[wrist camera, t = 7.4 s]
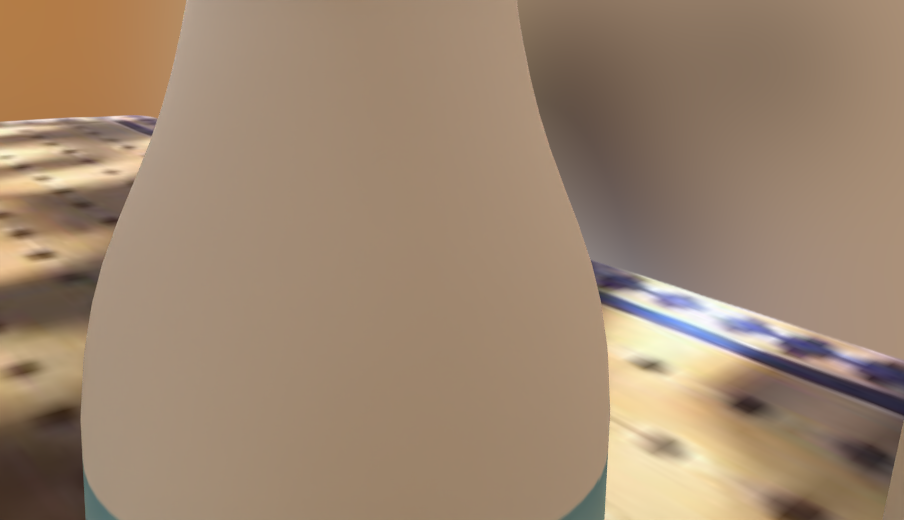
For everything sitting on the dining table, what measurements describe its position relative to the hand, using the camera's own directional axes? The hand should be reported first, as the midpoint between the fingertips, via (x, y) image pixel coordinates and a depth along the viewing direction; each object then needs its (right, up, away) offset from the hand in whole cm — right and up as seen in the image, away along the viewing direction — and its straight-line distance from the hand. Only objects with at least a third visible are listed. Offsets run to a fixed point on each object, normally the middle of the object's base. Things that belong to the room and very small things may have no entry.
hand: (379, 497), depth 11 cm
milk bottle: (-1, -10, +5) cm, 11 cm away
